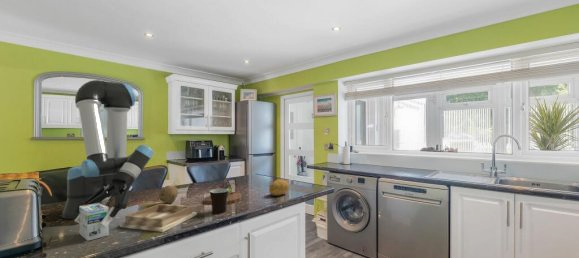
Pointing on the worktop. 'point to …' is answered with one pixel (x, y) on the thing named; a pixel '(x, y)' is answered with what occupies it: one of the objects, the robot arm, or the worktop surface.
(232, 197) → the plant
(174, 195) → the natural sponge
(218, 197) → the coffee mug
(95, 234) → the light bulb box
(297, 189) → the worktop surface
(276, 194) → the potato
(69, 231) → the worktop surface
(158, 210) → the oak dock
